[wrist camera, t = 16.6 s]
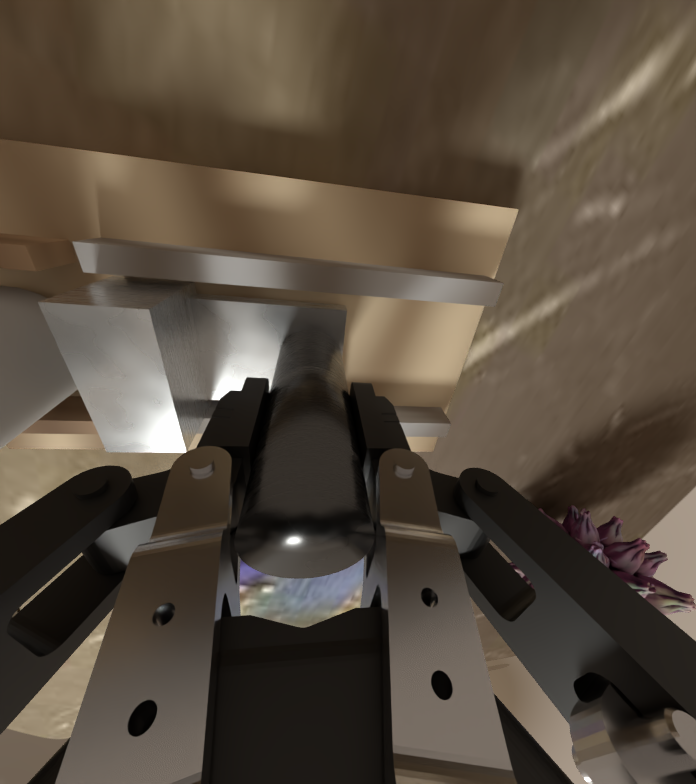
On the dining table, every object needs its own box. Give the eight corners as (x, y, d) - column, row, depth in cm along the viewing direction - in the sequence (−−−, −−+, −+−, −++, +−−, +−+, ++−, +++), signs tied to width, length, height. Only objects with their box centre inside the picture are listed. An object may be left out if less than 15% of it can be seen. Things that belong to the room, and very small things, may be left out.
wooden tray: (31, 431, 17) (-27, 476, 14) (-163, 119, 10) (-361, 83, 7) (425, 436, 21) (443, 474, 18) (499, 209, 13) (551, 209, 11)
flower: (607, 517, 30) (756, 675, 20) (497, 561, 32) (578, 719, 22) (590, 454, 24) (789, 633, 14) (458, 515, 27) (544, 699, 17)
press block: (153, 397, 15) (-43, 629, 7) (116, 274, 12) (-340, 430, 4) (335, 402, 16) (357, 602, 8) (346, 294, 13) (401, 441, 5)
